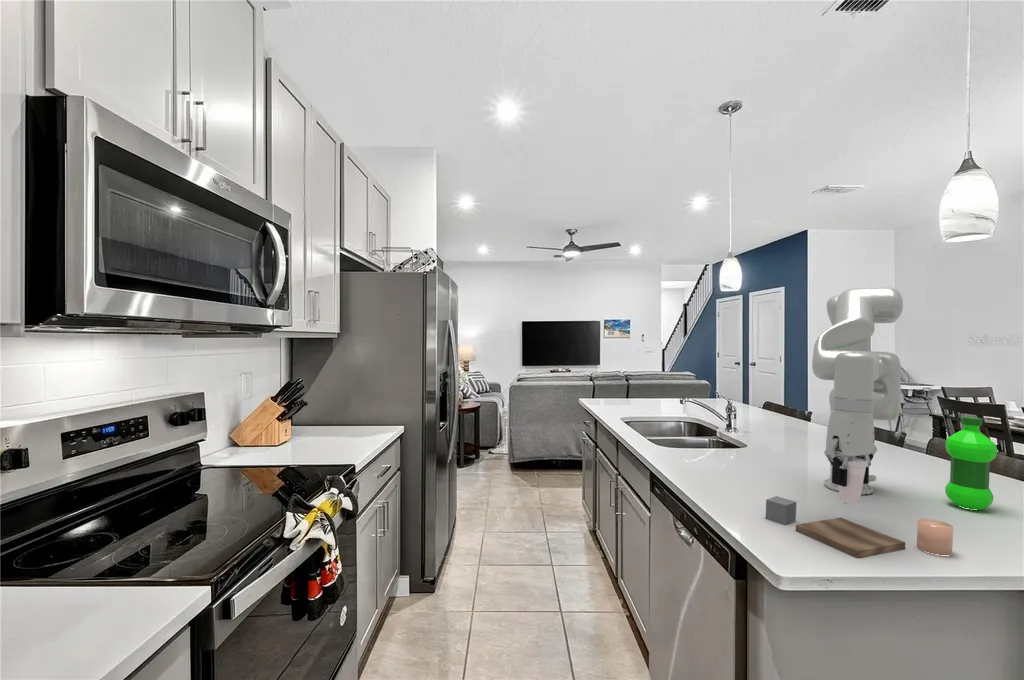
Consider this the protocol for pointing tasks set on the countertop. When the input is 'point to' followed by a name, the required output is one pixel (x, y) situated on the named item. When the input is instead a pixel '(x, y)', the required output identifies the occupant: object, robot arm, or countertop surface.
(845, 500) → the smoothie
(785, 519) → the rubber block
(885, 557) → the countertop surface
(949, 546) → the peach rounded cylinder
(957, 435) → the plastic bottle
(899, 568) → the countertop surface
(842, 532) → the walnut board
